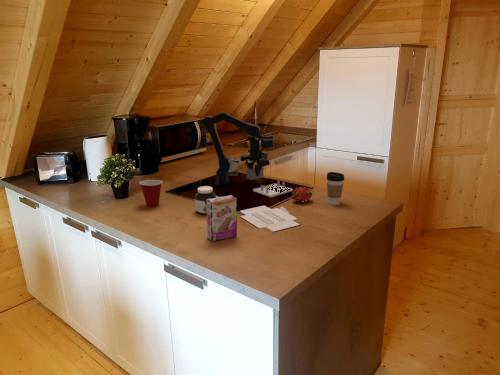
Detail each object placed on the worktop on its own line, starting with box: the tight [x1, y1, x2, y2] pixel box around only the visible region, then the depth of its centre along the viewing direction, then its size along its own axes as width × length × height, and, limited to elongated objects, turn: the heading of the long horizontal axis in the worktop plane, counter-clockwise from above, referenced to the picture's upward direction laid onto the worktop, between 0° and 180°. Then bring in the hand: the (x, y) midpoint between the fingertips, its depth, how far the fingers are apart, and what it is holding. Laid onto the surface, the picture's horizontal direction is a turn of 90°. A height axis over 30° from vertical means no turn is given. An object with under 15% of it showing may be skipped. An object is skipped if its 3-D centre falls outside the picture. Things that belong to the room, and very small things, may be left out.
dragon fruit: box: [291, 186, 313, 204], centre depth 196 cm, size 8×8×12 cm
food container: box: [227, 157, 241, 177], centre depth 246 cm, size 12×6×10 cm, turn 84°
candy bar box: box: [206, 194, 238, 243], centre depth 156 cm, size 11×5×16 cm, turn 118°
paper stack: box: [239, 205, 301, 233], centre depth 177 cm, size 20×28×4 cm
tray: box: [252, 180, 294, 198], centre depth 214 cm, size 16×14×4 cm
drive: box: [245, 167, 264, 181], centre depth 223 cm, size 9×4×5 cm, turn 133°
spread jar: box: [194, 185, 219, 216], centre depth 185 cm, size 12×11×12 cm
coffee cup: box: [326, 171, 345, 206], centre depth 193 cm, size 8×8×15 cm
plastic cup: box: [139, 179, 163, 208], centre depth 193 cm, size 11×11×12 cm
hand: (254, 175), depth 224 cm, fingers closed on drive, 5 cm apart
